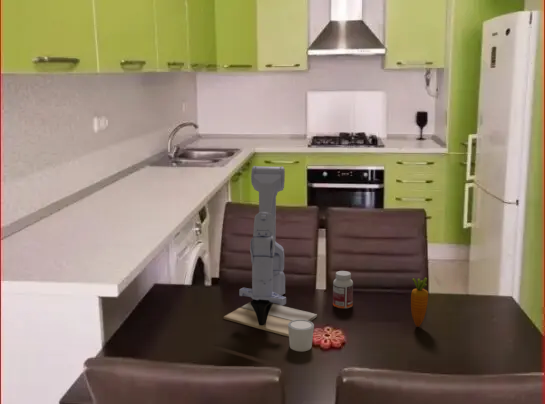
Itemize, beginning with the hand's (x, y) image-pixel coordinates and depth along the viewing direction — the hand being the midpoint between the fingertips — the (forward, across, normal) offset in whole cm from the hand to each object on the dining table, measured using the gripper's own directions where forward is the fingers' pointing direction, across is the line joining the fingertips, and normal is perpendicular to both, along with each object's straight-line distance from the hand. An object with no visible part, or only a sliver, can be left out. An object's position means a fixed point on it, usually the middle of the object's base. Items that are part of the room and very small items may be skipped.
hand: (262, 323), depth 173 cm
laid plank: (+1, -1, +11) cm, 11 cm away
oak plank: (+1, -1, +2) cm, 3 cm away
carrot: (+2, +37, +26) cm, 45 cm away
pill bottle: (+2, +12, +28) cm, 30 cm away
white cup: (+2, +16, -5) cm, 17 cm away
